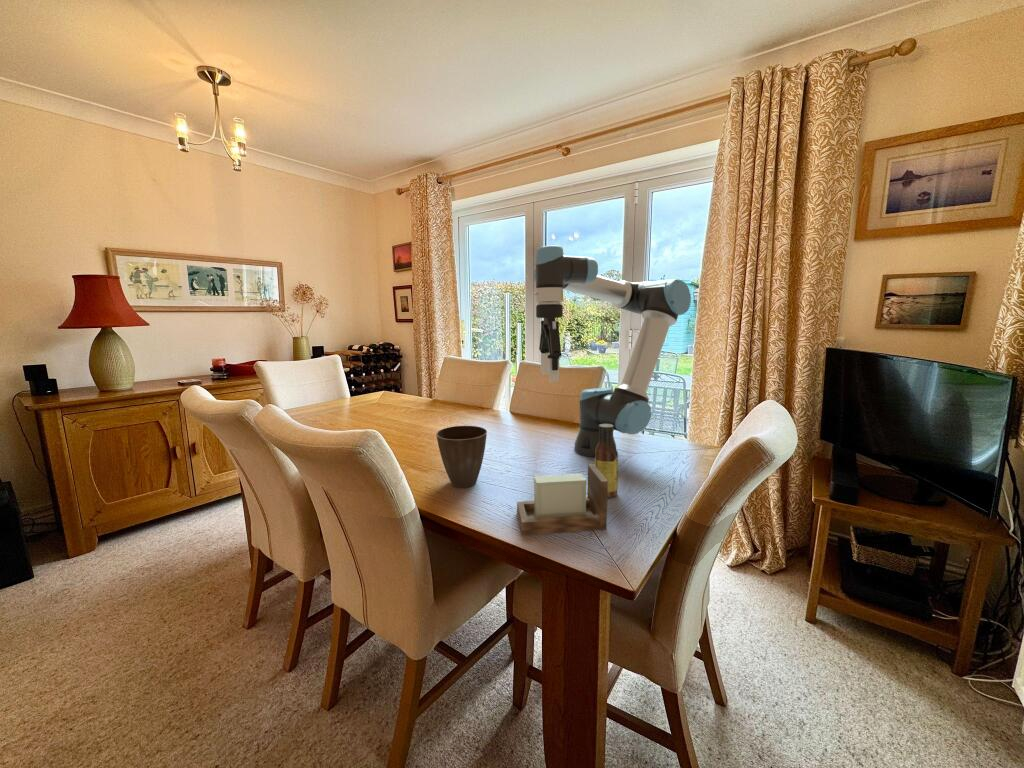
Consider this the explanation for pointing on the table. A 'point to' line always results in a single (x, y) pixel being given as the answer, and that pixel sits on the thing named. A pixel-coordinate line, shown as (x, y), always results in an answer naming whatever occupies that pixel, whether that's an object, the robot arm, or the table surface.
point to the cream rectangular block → (559, 495)
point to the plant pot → (462, 453)
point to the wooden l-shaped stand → (590, 521)
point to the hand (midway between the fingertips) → (549, 378)
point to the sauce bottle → (607, 458)
